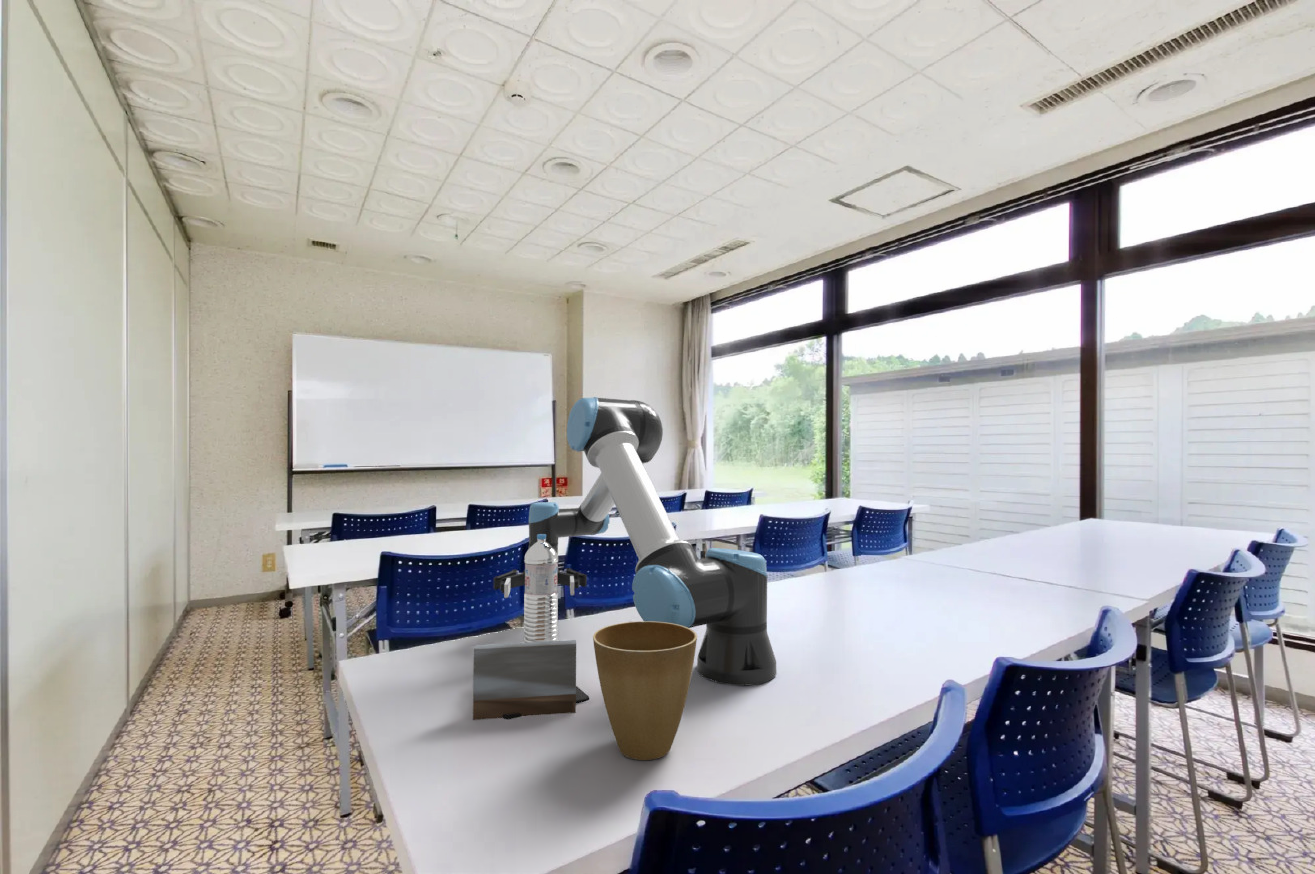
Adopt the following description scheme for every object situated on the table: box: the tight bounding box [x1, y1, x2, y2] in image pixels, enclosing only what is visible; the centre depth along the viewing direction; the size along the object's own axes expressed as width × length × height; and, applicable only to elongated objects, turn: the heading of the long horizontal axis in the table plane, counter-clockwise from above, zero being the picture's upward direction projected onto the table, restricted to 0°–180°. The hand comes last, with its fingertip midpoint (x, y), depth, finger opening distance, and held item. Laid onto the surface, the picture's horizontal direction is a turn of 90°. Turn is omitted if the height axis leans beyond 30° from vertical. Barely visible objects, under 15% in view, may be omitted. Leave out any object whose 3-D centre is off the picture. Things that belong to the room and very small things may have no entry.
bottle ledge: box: [472, 639, 577, 721], centre depth 100 cm, size 14×16×11 cm
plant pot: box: [592, 620, 698, 761], centre depth 84 cm, size 15×15×16 cm
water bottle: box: [523, 534, 559, 643], centre depth 121 cm, size 7×7×25 cm
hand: (539, 589), depth 122 cm, fingers open, 13 cm apart
